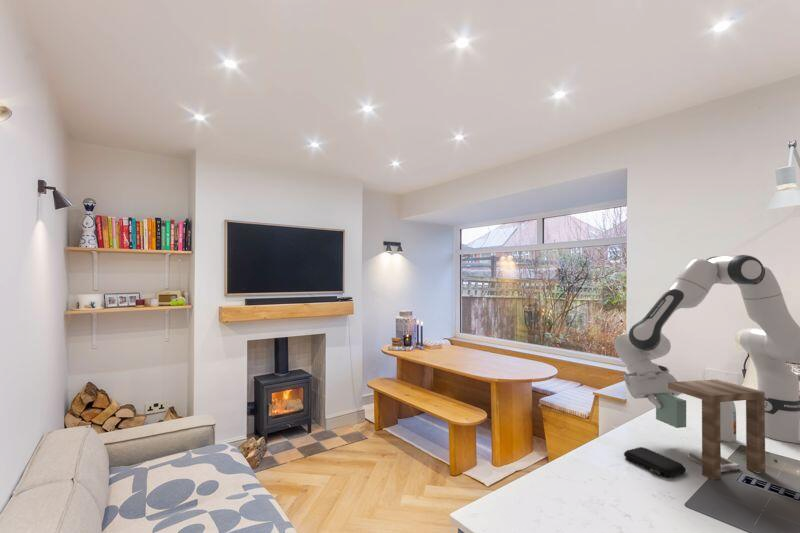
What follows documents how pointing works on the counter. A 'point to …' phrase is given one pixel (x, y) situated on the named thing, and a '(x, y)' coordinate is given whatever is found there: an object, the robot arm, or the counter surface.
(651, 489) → the counter surface
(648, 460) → the carrying case or bag
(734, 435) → the milk bottle
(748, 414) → the walnut overhang shelf
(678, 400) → the sage rectangular block
